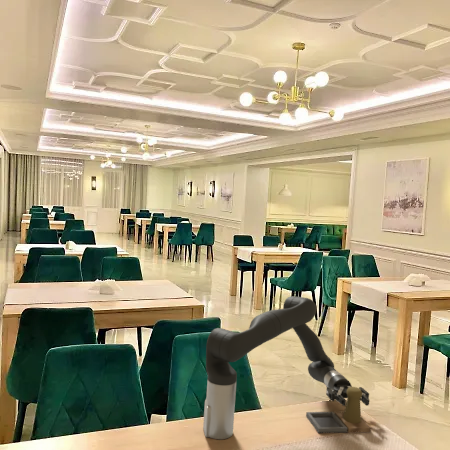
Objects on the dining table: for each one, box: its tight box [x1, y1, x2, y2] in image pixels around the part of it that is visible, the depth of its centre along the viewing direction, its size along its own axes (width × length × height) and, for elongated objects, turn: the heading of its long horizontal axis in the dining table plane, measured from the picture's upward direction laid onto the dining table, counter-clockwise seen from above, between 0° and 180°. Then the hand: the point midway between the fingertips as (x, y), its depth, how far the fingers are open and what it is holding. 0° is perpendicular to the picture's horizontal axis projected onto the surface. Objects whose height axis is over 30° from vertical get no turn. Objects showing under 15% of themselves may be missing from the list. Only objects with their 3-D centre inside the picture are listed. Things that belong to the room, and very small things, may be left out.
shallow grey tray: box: [305, 411, 348, 434], centre depth 163 cm, size 10×12×2 cm
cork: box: [343, 386, 362, 423], centre depth 165 cm, size 6×6×11 cm
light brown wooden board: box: [333, 411, 372, 434], centre depth 165 cm, size 8×12×2 cm, turn 10°
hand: (356, 403), depth 163 cm, fingers open, 8 cm apart
